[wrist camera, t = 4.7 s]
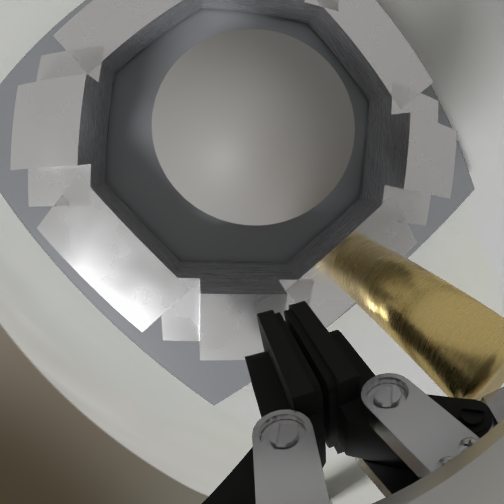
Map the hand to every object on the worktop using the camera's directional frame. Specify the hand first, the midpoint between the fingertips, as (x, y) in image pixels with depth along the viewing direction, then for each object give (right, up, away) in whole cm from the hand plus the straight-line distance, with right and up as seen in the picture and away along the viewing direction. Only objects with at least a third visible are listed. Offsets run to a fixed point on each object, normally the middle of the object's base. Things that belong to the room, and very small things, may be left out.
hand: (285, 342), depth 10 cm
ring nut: (-1, +8, +2) cm, 9 cm away
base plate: (-2, +9, +4) cm, 10 cm away
